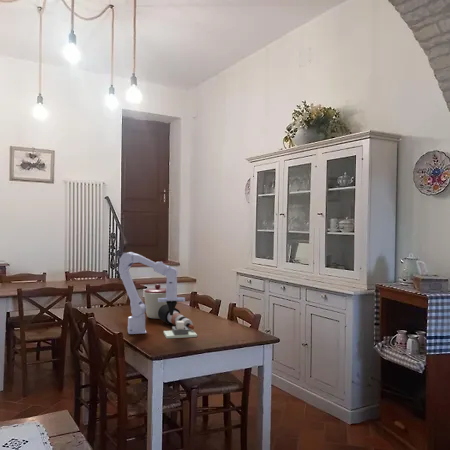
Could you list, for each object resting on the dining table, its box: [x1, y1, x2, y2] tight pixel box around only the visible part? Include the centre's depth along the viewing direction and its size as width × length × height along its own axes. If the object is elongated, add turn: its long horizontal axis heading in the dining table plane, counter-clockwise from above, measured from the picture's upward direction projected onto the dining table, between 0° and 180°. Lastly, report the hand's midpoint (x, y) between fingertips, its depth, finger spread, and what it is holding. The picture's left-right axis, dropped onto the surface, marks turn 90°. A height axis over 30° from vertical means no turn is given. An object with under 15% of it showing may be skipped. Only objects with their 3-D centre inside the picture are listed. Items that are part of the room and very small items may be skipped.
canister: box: [142, 283, 171, 320], centre depth 300 cm, size 18×18×21 cm
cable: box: [158, 304, 195, 330], centre depth 271 cm, size 10×34×10 cm, turn 31°
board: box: [163, 325, 198, 339], centre depth 253 cm, size 16×12×4 cm
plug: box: [175, 321, 184, 330], centre depth 253 cm, size 4×5×6 cm
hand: (171, 315), depth 257 cm, fingers closed
